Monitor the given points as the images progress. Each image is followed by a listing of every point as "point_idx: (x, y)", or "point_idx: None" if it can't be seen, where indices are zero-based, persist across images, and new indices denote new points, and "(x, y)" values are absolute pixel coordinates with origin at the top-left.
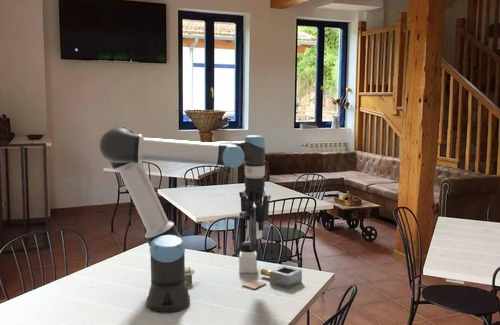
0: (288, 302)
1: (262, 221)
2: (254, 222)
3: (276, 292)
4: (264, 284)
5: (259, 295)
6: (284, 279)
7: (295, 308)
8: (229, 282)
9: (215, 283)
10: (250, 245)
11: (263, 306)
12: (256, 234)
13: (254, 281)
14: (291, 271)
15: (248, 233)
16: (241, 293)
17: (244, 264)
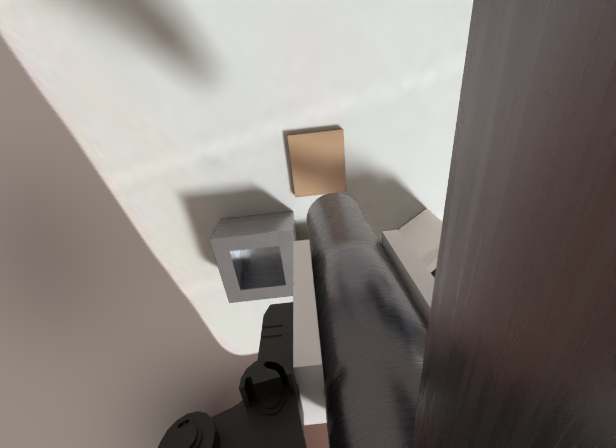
0: (131, 136)
1: (229, 410)
2: (344, 349)
3: (224, 172)
4: (294, 190)
5: (240, 110)
6: (232, 229)
7: (74, 113)
8: (402, 122)
9: (440, 74)
10: (346, 202)
11: (148, 36)
12: (306, 260)
13: (332, 182)
14: (258, 283)
15: (395, 247)
16: (298, 73)
17: (424, 232)
